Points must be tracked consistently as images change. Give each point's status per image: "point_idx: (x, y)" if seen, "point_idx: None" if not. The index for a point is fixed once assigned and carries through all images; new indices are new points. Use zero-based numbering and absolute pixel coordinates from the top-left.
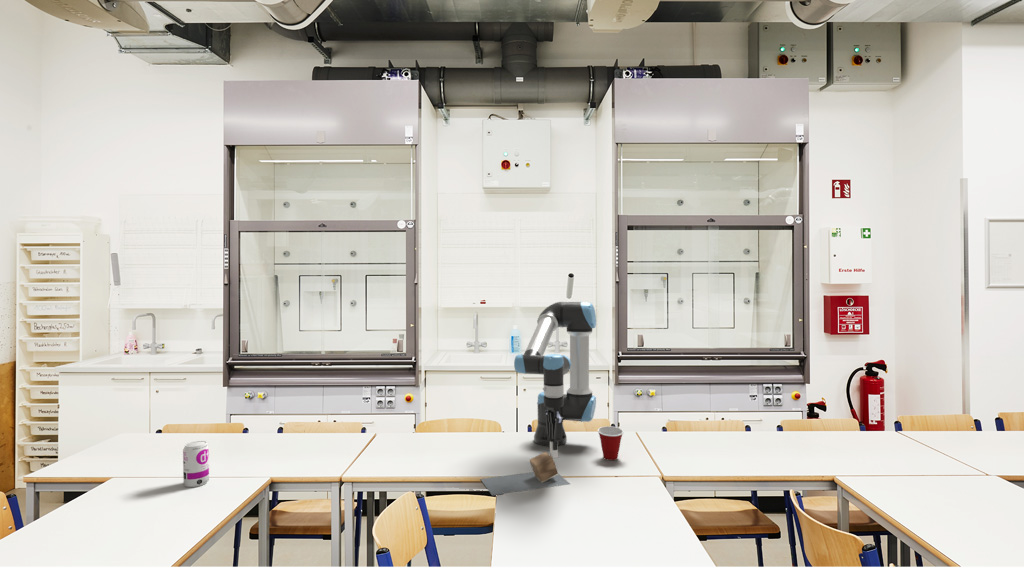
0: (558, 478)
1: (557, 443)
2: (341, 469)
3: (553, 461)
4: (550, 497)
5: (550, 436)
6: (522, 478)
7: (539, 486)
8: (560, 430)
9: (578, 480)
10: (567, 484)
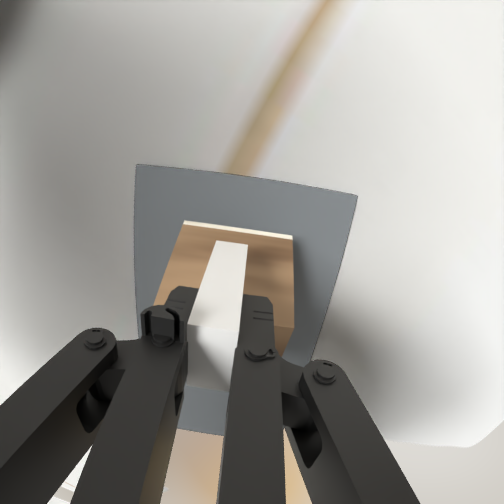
0: (263, 207)
1: (274, 340)
2: (69, 486)
3: (292, 304)
4: (399, 329)
5: (178, 413)
6: None
7: (302, 327)
8: (401, 498)
9: (328, 123)
10: (353, 212)
